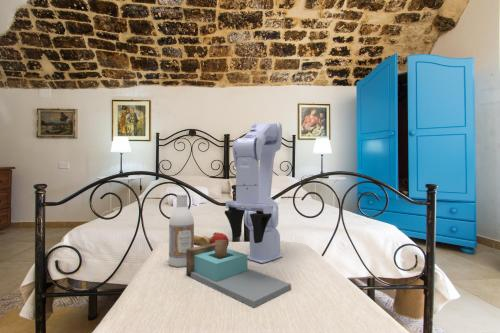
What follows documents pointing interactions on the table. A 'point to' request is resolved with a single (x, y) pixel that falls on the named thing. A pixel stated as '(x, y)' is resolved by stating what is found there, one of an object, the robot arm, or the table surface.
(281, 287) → the slate board
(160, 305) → the table surface
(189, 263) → the walnut wall
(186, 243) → the bath foam
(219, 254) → the walnut dowel
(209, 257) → the teal block
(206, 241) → the kendama
